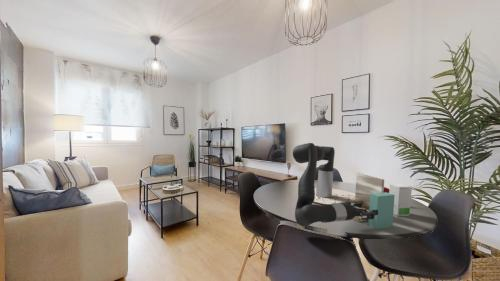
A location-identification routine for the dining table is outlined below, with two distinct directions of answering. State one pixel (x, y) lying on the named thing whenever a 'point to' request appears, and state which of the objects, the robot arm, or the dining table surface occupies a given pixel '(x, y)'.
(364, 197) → the book rack
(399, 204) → the skincare box
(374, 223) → the book
